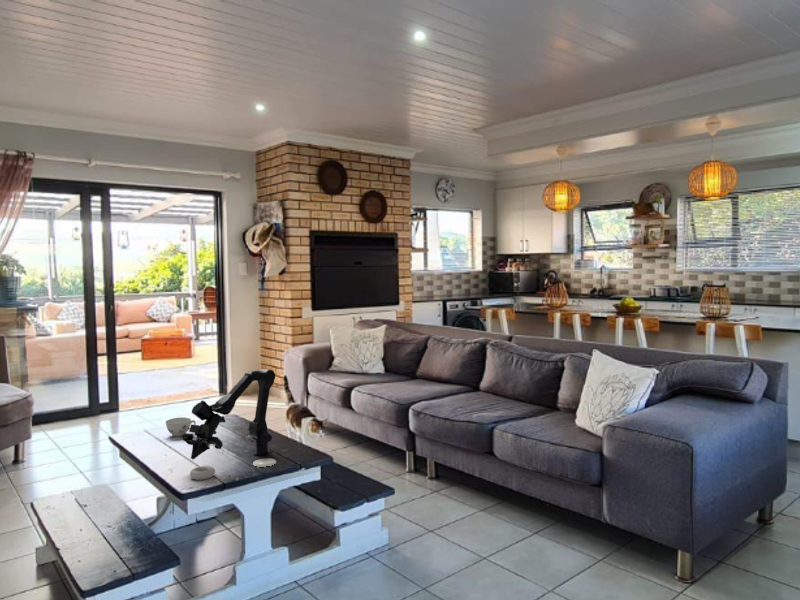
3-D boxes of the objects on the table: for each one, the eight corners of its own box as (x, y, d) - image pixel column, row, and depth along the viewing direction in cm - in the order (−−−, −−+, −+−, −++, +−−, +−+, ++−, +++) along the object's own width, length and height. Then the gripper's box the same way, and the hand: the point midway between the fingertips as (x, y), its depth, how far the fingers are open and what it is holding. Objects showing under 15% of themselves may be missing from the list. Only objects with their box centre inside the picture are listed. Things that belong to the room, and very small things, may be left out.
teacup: (168, 440, 297) (168, 424, 296) (163, 434, 307) (163, 419, 307) (198, 435, 305) (198, 420, 305) (193, 429, 315) (192, 415, 315)
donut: (189, 475, 244) (190, 482, 235) (189, 466, 244) (190, 474, 235) (214, 471, 248) (216, 478, 239) (214, 463, 248) (216, 470, 239)
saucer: (258, 459, 263) (258, 457, 263) (279, 460, 261) (279, 458, 261) (249, 467, 253) (249, 465, 253) (270, 468, 251) (270, 466, 251)
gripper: (183, 414, 251) (164, 446, 241) (217, 418, 243) (198, 451, 233) (197, 427, 258) (179, 459, 249) (230, 432, 250) (213, 465, 241)
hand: (192, 458), depth 243 cm, fingers closed
